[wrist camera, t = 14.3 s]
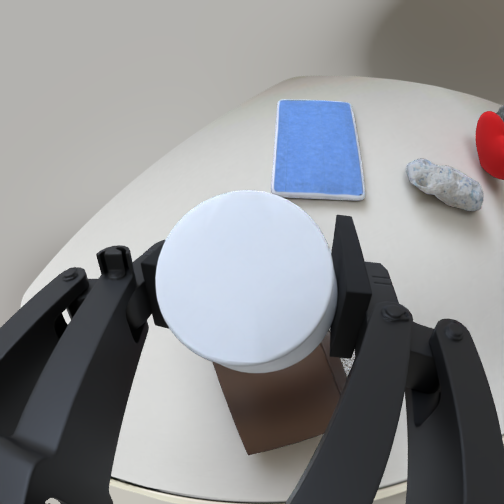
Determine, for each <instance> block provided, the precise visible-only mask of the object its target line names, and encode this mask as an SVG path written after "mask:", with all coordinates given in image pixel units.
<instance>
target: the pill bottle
mask: <svg viewBox="0 0 504 504" xmlns="http://www.w3.org/2000/svg"><path fill="white" fill-rule="evenodd" d="M155 280H156V295H157V300H158V304H159V307H160V311H161V313H162V315H163V318H164V320H165V322H166V323H167V325H168V327H169V328H170V330H171V331H172V333H173V334H174V335H175V336H176V337H177V338H178V340H179V341H180V342H181V343H183V344H184V345H185V346H186V347H187V348H188V349H190V350H191V351H192V352H194V353H195V354H197V355H199V356H201V357H203V358H205V359H207V360H209V361H212V362H215V363H218V364H221V365H222V366H225V367H227V368H230V369H233V370H236V371H240V372H247V373H267V372H273V371H277V370H281V369H284V368H287V367H289V366H291V365H294V364H295V363H297V362H299V361H301V360H302V359H304V358H305V357H307V356H308V355H309V354H310V353H312V352H313V351H314V350H315V348H316V347H317V346H318V345H319V344H320V343H321V341H322V340H323V339H324V337H325V335H326V334H327V332H328V330H329V329H330V326H331V324H332V322H333V319H334V316H335V312H336V308H337V299H338V288H337V280H336V276H335V272H334V268H333V261H332V255H331V252H330V248H329V246H328V243H327V241H326V239H325V237H324V235H323V233H322V232H321V230H320V228H319V227H318V226H317V224H316V223H315V222H314V221H313V219H312V218H311V217H310V216H309V215H308V214H307V213H306V212H305V211H304V210H302V209H301V208H300V207H298V206H297V205H295V204H294V203H292V202H291V201H289V200H287V199H285V198H283V197H280V196H278V195H275V194H271V193H268V192H262V191H254V190H242V191H233V192H228V193H224V194H221V195H218V196H215V197H213V198H211V199H208V200H206V201H204V202H202V203H201V204H199V205H198V206H196V207H195V208H193V209H192V210H191V211H189V212H188V213H187V214H186V215H185V216H183V217H182V218H181V219H180V220H179V222H178V223H177V224H176V225H175V227H174V228H173V229H172V231H171V232H170V234H169V235H168V237H167V239H166V241H165V243H164V245H163V247H162V250H161V253H160V255H159V258H158V263H157V269H156V277H155Z"/></svg>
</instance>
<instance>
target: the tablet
mask: <svg viewBox="0 0 504 504" xmlns="http://www.w3.org/2000/svg"><path fill="white" fill-rule="evenodd" d="M271 192H272V194H275V195H278V196H280V197H290V198H309V199H331V200H357V201H359V200H362V199H364V197H365V186H364V177H363V168H362V161H361V154H360V147H359V141H358V135H357V130H356V124H355V119H354V114H353V110H352V106H351V104H350V103H348V102H337V101H322V100H280V101H279V102H278V104H277V116H276V130H275V143H274V156H273V171H272V184H271Z"/></svg>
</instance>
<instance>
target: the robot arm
mask: <svg viewBox="0 0 504 504" xmlns="http://www.w3.org/2000/svg"><path fill="white" fill-rule="evenodd" d="M165 241H166V240H162V241H160V242H158V243H156V244H154V245H153V246H152V247H150V248H149V249H148V251H146V252H145V253H143V255H141V256H140V257H139V258H138V259H136V260H135V261H134V262H133V263H132V258H131V253H130V250H129V248H128V247H126V246H112V247H108V248H105V249H103V250H101V251H100V252H98V253H97V254H96V255H97V259H98V263H99V267H100V270H101V274H102V275H101V276H100V278H99V279H88V278H87V275H86V272H85V270H84V269H82V268H76V267H74V268H69V269H68V270H66V271H64V272H62V273H61V274H59V275H58V276H57V277H56V278H55V279H53V280H52V281H51V282H50V283H49V284H48V285H46V286H45V287H44V288H43V289H42V290H41V291H39V292H38V293H37V294H36V295H35V296H34V297H33V298H31V299H30V300H29V301H28V302H27V303H26V304H25V305H24V306H23V307H22V308H21V309H19V310H18V312H17V313H15V314H14V315H13V316H12V317H11V318H10V319H9V320H8V321H7V322H6V323H5V324H4V325H3V326H2V327H1V328H0V504H45V501H46V500H48V499H49V498H54V499H56V500H58V501H59V502H60V503H61V504H113V501H112V499H111V496H110V494H109V483H110V477H111V472H112V466H113V461H114V456H115V451H116V447H117V442H118V438H119V433H120V429H121V425H122V421H123V417H124V413H125V409H126V405H127V401H128V397H129V393H130V390H131V386H132V383H133V379H134V376H135V372H136V369H137V365H138V362H139V359H140V355H141V352H142V349H143V346H144V343H145V339H146V336H147V333H148V328H149V326H148V323H147V319H148V318H149V316H150V315H151V314H152V315H153V319H154V323H155V325H157V326H161V327H165V328H169V327H168V325H167V323H166V322H165V320H164V318H163V315H162V313H161V311H160V307H159V304H158V300H157V295H156V280H155V277H156V269H157V263H158V258H159V255H160V253H161V250H162V247H163V245H164V243H165ZM331 255H332V261H333V268H334V272H335V276H336V280H337V288H338V299H337V308H336V312H335V316H334V319H333V322H332V324H331V326H330V357H338V358H350V359H351V357H352V354H353V352H354V349H355V360H354V362H353V365H352V367H351V370H350V372H349V375H348V377H347V379H346V380H347V381H346V383H345V386H344V389H343V391H342V394H341V396H340V398H339V401H338V403H337V406H336V408H335V410H334V413H333V415H332V417H331V419H330V422H329V424H328V426H327V428H326V430H325V432H324V434H323V437H322V439H321V441H320V443H319V445H318V447H317V449H316V451H315V453H314V455H313V456H312V458H311V460H310V462H309V464H308V466H307V468H306V469H305V471H304V473H303V475H302V477H301V478H300V480H299V482H298V484H297V485H296V487H295V489H294V490H293V492H292V494H291V495H290V497H289V498H288V500H287V502H286V503H285V504H372V503H373V500H374V498H375V495H376V493H377V490H378V488H379V485H380V482H381V479H382V477H383V474H384V471H385V468H386V465H387V461H388V458H389V455H390V452H391V448H392V445H393V441H394V437H395V433H396V429H397V425H398V421H399V417H400V412H401V407H402V402H403V397H404V392H405V399H406V411H407V430H408V477H407V494H406V504H504V447H503V441H502V435H501V430H500V425H499V421H498V416H497V412H496V408H495V404H494V401H493V397H492V394H491V390H490V387H489V384H488V380H487V377H486V374H485V371H484V368H483V366H482V363H481V360H480V357H479V355H478V352H477V349H476V347H475V344H474V342H473V339H472V337H471V335H470V333H469V331H468V330H467V328H466V327H465V326H464V325H462V324H461V323H460V322H458V321H456V320H452V319H442V320H440V321H438V323H437V325H436V327H435V329H432V328H429V327H426V326H422V325H419V324H417V323H415V322H413V318H412V314H411V313H410V311H409V310H408V309H407V308H405V307H404V306H403V305H401V304H399V302H398V299H397V296H396V293H395V290H394V287H393V285H392V282H391V279H390V276H389V273H388V271H387V269H386V268H385V267H383V266H382V265H381V264H380V263H373V262H364V258H363V254H362V250H361V247H360V243H359V240H358V236H357V233H356V229H355V226H354V223H353V220H352V217H351V216H343V215H337V216H336V224H335V232H334V239H333V246H332V253H331ZM65 309H67V311H68V314H69V316H70V318H71V321H70V323H69V324H68V325H67V323H66V322H65V319H64V317H63V315H62V312H63V311H64V310H65ZM169 329H170V328H169Z"/></svg>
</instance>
